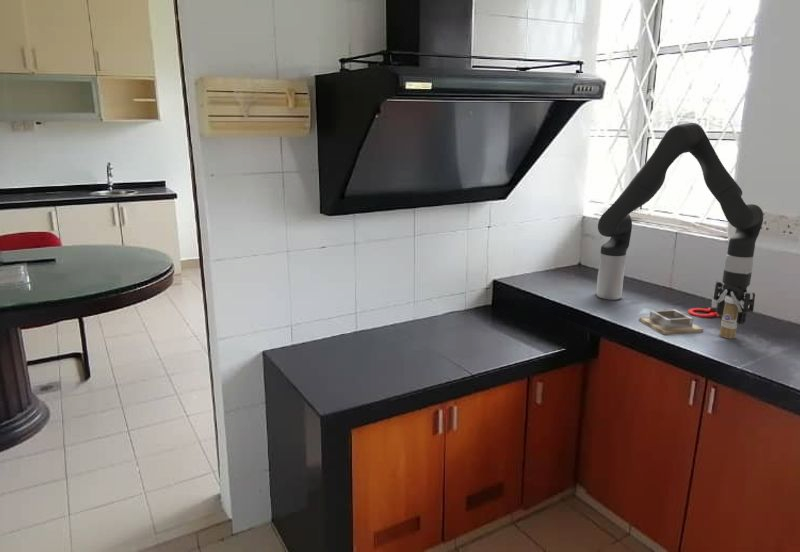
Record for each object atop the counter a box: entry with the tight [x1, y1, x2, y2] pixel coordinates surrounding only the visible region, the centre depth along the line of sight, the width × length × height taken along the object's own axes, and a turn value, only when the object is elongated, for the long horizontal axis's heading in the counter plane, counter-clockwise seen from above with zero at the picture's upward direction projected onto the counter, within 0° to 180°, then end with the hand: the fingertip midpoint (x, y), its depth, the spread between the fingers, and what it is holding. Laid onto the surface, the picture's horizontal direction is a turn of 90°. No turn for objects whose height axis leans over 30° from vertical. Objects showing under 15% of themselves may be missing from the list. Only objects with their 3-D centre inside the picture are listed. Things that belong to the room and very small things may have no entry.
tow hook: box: [687, 278, 721, 318], centre depth 203 cm, size 8×13×9 cm
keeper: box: [638, 308, 704, 336], centre depth 192 cm, size 14×14×4 cm
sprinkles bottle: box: [718, 295, 742, 339], centre depth 182 cm, size 5×5×13 cm
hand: (730, 318), depth 182 cm, fingers open, 8 cm apart
